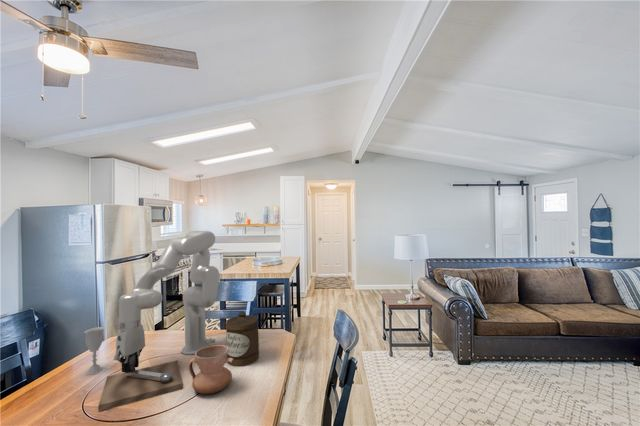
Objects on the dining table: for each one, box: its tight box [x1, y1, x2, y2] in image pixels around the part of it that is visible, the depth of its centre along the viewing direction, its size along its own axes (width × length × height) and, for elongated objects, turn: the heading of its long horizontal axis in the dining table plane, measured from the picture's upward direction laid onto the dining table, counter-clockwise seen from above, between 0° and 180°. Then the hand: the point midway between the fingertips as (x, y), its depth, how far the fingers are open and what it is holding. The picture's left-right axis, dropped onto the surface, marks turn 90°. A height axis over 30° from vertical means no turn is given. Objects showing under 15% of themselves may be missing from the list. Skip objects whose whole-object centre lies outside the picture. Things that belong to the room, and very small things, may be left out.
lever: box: [126, 353, 173, 383], centre depth 117 cm, size 22×4×8 cm, turn 75°
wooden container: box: [225, 310, 260, 367], centre depth 137 cm, size 15×15×22 cm
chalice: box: [83, 326, 105, 376], centre depth 128 cm, size 7×7×18 cm
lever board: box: [97, 359, 183, 412], centre depth 116 cm, size 26×22×2 cm
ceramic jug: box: [187, 344, 233, 395], centre depth 114 cm, size 18×14×14 cm
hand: (130, 368), depth 120 cm, fingers closed on lever, 3 cm apart
